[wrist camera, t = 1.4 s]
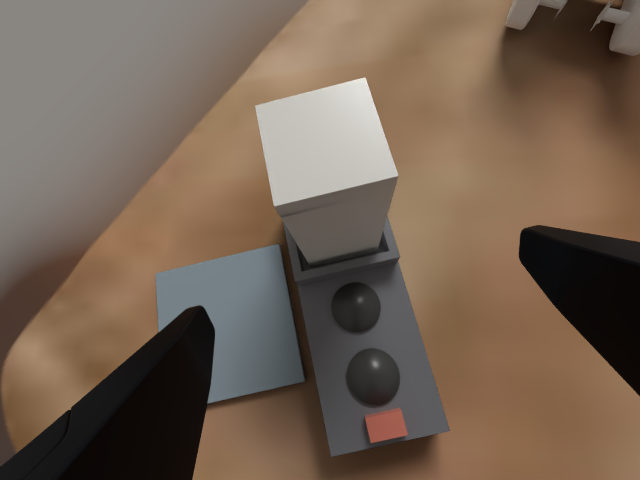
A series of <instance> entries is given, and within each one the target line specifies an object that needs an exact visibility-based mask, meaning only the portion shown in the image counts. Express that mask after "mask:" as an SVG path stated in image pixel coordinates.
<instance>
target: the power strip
mask: <svg viewBox="0 0 640 480" xmlns="http://www.w3.org/2000/svg"><path fill="white" fill-rule="evenodd" d="M283 224H284V222H283ZM284 229H285V234H286V239H287V244H288V249H289V254H290V259H291V265H292V270H293V275H294V280H295V282H296V283H297V286H298V291H299V296H300V301H301V307H302V312H303V317H304V322H305V327H306V332H307V337H308V342H309V347H310V352H311V357H312V362H313V367H314V373H315V378H316V383H317V388H318V393H319V398H320V403H321V408H322V413H323V418H324V423H325V428H326V434H327V439H328V444H329V449H330V454H331V457H333V456H338V455H342V454H347V453H351V452H356V451H360V450H365V449H370V448H374V447H379V446H383V445H388V444H392V443H397V442H402V441H406V440H411V439H415V438H420V437H424V436H429V435H434V434H438V433H443V432H447V431H450V429H449V426H448V423H447V419H446V416H445V413H444V410H443V406H442V403H441V400H440V397H439V393H438V390H437V387H436V383H435V380H434V377H433V374H432V370H431V367H430V364H429V361H428V357H427V354H426V351H425V348H424V344H423V341H422V338H421V335H420V331H419V328H418V325H417V321H416V318H415V315H414V312H413V308H412V305H411V302H410V299H409V295H408V292H407V289H406V286H405V282H404V279H403V276H402V273H401V269H400V266H399V263H398V260H399V258H400V255H399V252H398V248H397V245H396V242H395V239H394V235H393V232H392V229H391V226H390V222H389V219H388V216H387V218H386V222H385V225H384V229H383V233H382V236H381V240H380V243H379V247H378V251H377V252H373V253H369V254H365V255H361V256H356V257H352V258H348V259H344V260H340V261H335V262H331V263H327V264H323V265H319V266H314V267H311V266H310V265H309V263H308V262H307V260H306V258H305V257H304V255H303V253H302V252H301V250H300V248H299V247H298V245H297V243H296V242H295V240H294V238H293V237H292V235H291V233H290V232H289V230H288V228H287V227H286V225H285V224H284Z"/></svg>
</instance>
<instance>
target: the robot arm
mask: <svg viewBox="0 0 640 480" xmlns="http://www.w3.org/2000/svg"><path fill="white" fill-rule="evenodd" d="M519 259H520V261H521V263H522V265H523V266H524V267H525V268H526V270H527V271H528V272H529V274H530V275H531V276H532V278H533V279H534V280H535V281H536V283H537V284H538V285H539V287H540V288H541V289H542V291H543V292H544V293H545V295H546V296H547V297H548V298H549V300H550V301H551V302H552V303H553V305H554V306H555V307H556V308H557V309H558V310H559V311H560V312H561V314H562V315H563V316H564V317H565V318H566V319H567V320H568V321H569V322H570V323H571V324H572V325H573V326H574V327H575V328H576V329H577V330H578V332H579V333H580V334H581V335H582V336H583V337H584V338H585V339H586V340H587V341H588V342H589V343H590V344H591V345H592V346H593V347H594V348H595V349H596V351H597V352H598V353H599V354H600V355H601V356H602V357H603V358H604V359H605V360H606V361H607V362H608V363H609V364H610V365H611V366H612V367H613V368H614V370H615V371H616V372H617V373H618V374H619V375H620V376H621V377H622V378H623V379H624V380H625V381H626V382H627V383H628V384H629V385H630V386H631V387H632V388H633V390H634V391H635V392H636V393H637V394H638V395H639V396H640V242H636V241H630V240H624V239H618V238H613V237H607V236H601V235H595V234H589V233H583V232H577V231H571V230H565V229H560V228H554V227H548V226H542V225H536V226H532V227H528V228H524V229H523V230H522V231H521V234H520V245H519ZM214 344H215V328H214V326H213V324H212V322H211V320H210V318H209V316H208V314H207V312H206V310H205V308H204V307H203V306H201V305H198V306H194V307H189V308H187V309H185V310H184V311H183V312H182V313H181V314H179V315H178V316H177V317H176V318H175V319H174V320H172V321H171V322H170V323H169V324H168V325H167V326H166V327H164V328H163V329H162V330H161V331H160V332H159V333H157V334H156V335H155V336H154V337H153V338H152V339H150V340H149V341H148V342H147V343H146V344H145V345H143V346H142V347H141V348H140V349H139V350H138V351H136V352H135V353H134V354H133V355H132V356H131V357H129V358H128V359H127V360H126V361H125V362H124V363H122V364H121V365H120V366H119V367H118V368H117V369H115V370H114V371H113V372H112V373H111V374H110V375H108V376H107V377H106V378H105V379H104V380H103V381H102V382H100V383H99V384H98V385H97V386H96V387H95V388H93V389H92V390H91V391H90V392H89V393H88V394H86V395H85V396H84V397H83V398H82V399H81V400H79V401H78V402H77V403H76V404H75V405H74V406H72V408H71V410H68V411H66V412H65V413H64V414H63V415H62V416H61V417H60V418H58V419H57V420H56V421H55V422H54V423H53V424H51V425H50V426H49V427H48V428H47V429H45V430H44V431H43V432H42V433H41V434H39V435H38V436H37V437H36V438H35V439H34V440H32V441H31V442H30V443H29V444H28V445H26V446H25V447H24V448H23V449H21V450H20V451H19V452H18V453H16V454H15V455H14V456H13V457H12V458H10V459H9V460H8V461H7V462H5V463H4V464H3V465H2V466H0V480H192V478H193V473H194V468H195V463H196V458H197V453H198V448H199V443H200V438H201V433H202V428H203V423H204V418H205V413H206V408H207V403H208V398H209V392H210V387H211V379H212V368H213V356H214Z"/></svg>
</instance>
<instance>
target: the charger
mask: <svg viewBox="0 0 640 480" xmlns="http://www.w3.org/2000/svg"><path fill="white" fill-rule="evenodd" d="M255 107H256V113H257V118H258V123H259V129H260V134H261V139H262V145H263V150H264V155H265V161H266V166H267V171H268V176H269V182H270V187H271V192H272V198H273V203H274V207H275V209H276V210H277V212H278V214H279V215H280V217H281V219H282V220H283V222H284V224H285V225H286V227H287V228H288V230H289V232H290V233H291V235H292V237H293V238H294V240H295V242H296V243H297V245H298V247H299V248H300V250H301V252H302V253H303V255H304V257H305V258H306V260H307V262H308V263H309V265H310V266H311V267H314V266H319V265H323V264H327V263H331V262H335V261H340V260H344V259H348V258H352V257H356V256H361V255H365V254H369V253H373V252H377V251H378V247H379V243H380V240H381V236H382V233H383V229H384V225H385V222H386V218H387V215H388V211H389V208H390V204H391V200H392V197H393V193H394V190H395V186H396V183H397V179H398V173H397V170H396V167H395V164H394V161H393V159H392V156H391V153H390V150H389V147H388V144H387V141H386V138H385V135H384V132H383V129H382V126H381V123H380V120H379V117H378V114H377V111H376V108H375V105H374V102H373V99H372V96H371V93H370V90H369V87H368V84H367V81H366V78H361V79H357V80H353V81H350V82H346V83H342V84H338V85H334V86H330V87H326V88H322V89H318V90H314V91H310V92H307V93H303V94H299V95H295V96H291V97H287V98H283V99H279V100H275V101H271V102H267V103H264V104H260V105H256V106H255Z"/></svg>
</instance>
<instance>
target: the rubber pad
mask: <svg viewBox="0 0 640 480" xmlns="http://www.w3.org/2000/svg"><path fill="white" fill-rule="evenodd" d="M156 291H157V310H158V329H159V332H160V331H161V330H162V329H163V328H164V327H166V326H167V325H168V324H169V323H170V322H171V321H172V320H174V319H175V318H176V317H177V316H178V315H179V314H181V313H182V312H183V311H184V310H185V309H187V308H189V307H194V306H198V305H201V306H203V307H204V308H205V310H206V312H207V314H208V316H209V318H210V320H211V322H212V324H213V326H214V328H215V344H214V356H213V368H212V379H211V387H210V392H209V398H208V403H212V402H216V401H221V400H225V399H230V398H234V397H238V396H243V395H247V394H252V393H256V392H260V391H265V390H269V389H274V388H278V387H282V386H287V385H291V384H296V383H300V382H304V381H306V380H305V375H304V370H303V364H302V359H301V354H300V348H299V343H298V338H297V332H296V327H295V322H294V316H293V311H292V306H291V300H290V295H289V290H288V284H287V279H286V273H285V268H284V263H283V257H282V252H281V247H280V244H276V245H272V246H268V247H263V248H259V249H255V250H251V251H247V252H243V253H239V254H234V255H230V256H226V257H222V258H218V259H214V260H210V261H205V262H201V263H197V264H193V265H189V266H185V267H181V268H176V269H172V270H168V271H164V272H160V273H156ZM208 403H207V404H208Z"/></svg>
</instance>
